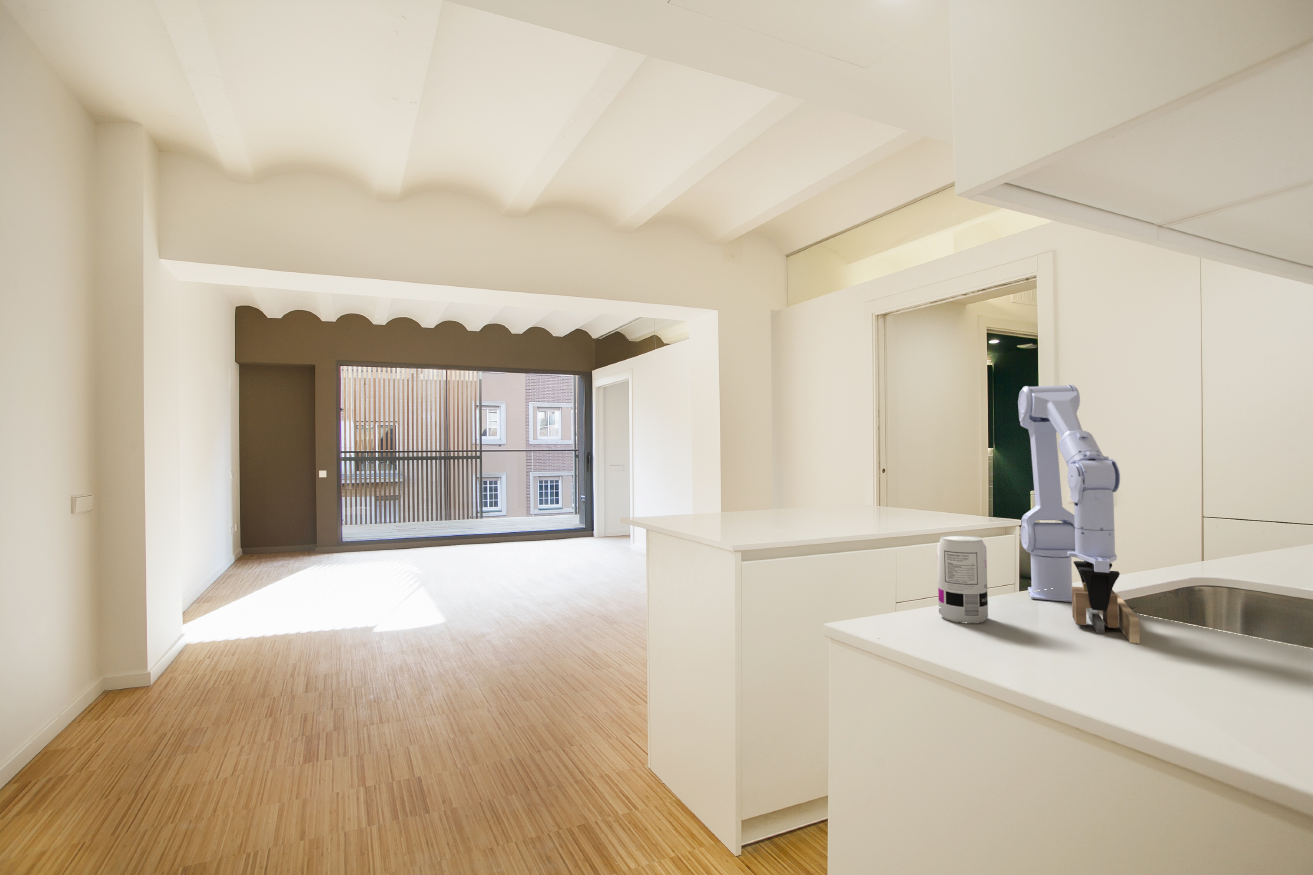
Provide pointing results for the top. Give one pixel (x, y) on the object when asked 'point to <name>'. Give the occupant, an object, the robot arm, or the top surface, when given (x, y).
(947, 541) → the supplement can
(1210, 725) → the top surface
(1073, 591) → the cabinet block
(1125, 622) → the cleat board
